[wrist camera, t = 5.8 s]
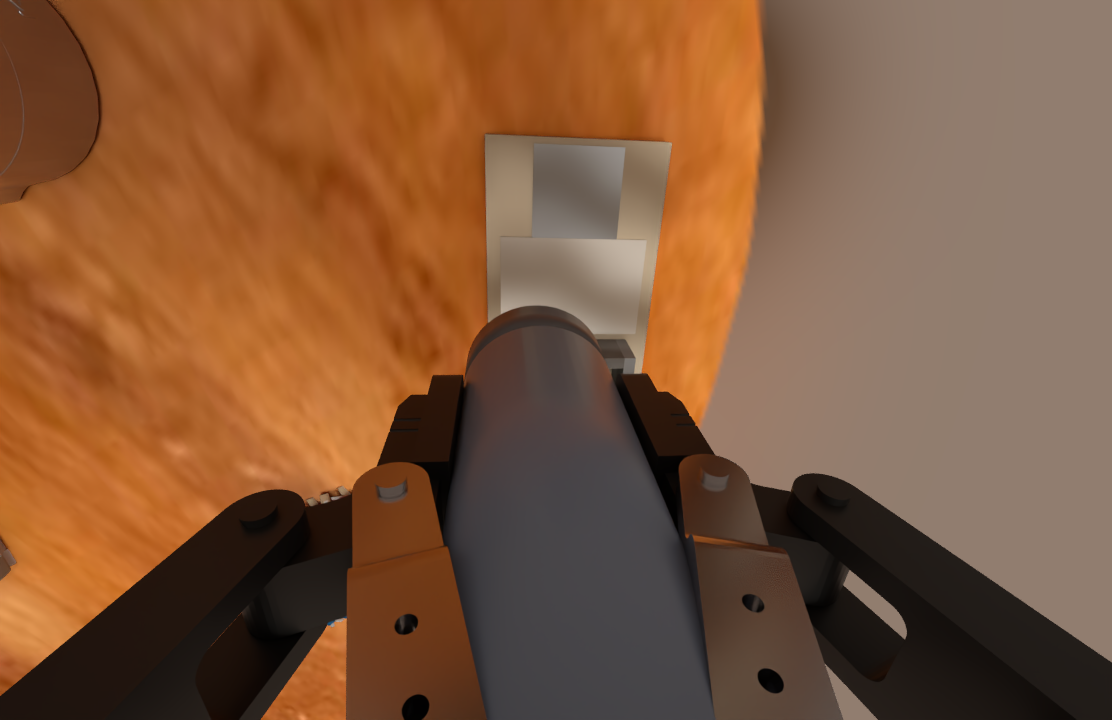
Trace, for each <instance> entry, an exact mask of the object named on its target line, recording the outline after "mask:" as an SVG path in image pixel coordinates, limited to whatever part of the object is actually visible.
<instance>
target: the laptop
mask: <svg viewBox="0 0 1112 720" xmlns="http://www.w3.org/2000/svg"><path fill="white" fill-rule="evenodd" d="M15 563H16V560H15V559H14V557H13V556H12V554H11V553H10V551H9V550H8V549H6V547H5V546H4V544H3V543H2V541H1V540H0V580H1V579H3V578H4V577H5V576H6V575H7V574H8V573H9V572H10V570H11V568H10V566H12V565H14V564H15Z"/></svg>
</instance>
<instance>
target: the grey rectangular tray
mask: <svg viewBox="0 0 1112 720" xmlns="http://www.w3.org/2000/svg"><path fill="white" fill-rule="evenodd" d="M671 147H672V143H671V142H662V141H640V140H618V139H596V138H573V137H551V136H529V135H507V134H485V178H486V236H487V295H488V323H489V322H490V321H491V320H493V319H494V318H495V317H497V316H499V315H501V314H502V313H505V312H507V311H509V310H512V309H515V308H519V307H524V306H533V305H541V306H549V307H554V308H558V309H561V310H564V311H566V312H568V313H570V314H572V315H574V316H575V317H577V318H578V319H580V320H581V321H582V322H583V323H584V324H585V325H586V326H587V327H588V328H589V329H590V331H591V332H592V333H593V335H594V336H595V338H596V340H597V342H598V345H599V347H600V349H601V352H602V354H603V357H604V359H605V361H606V364H607V366H608V368H609V371H610V373H611V375H612V378H613V380H614V383H615V384H616V378H617V375H618V374H641V372H642V364H643V357H644V349H645V342H646V334H647V327H648V319H649V312H650V304H651V297H652V289H653V282H654V274H655V267H656V259H657V252H658V244H659V237H660V229H661V222H662V214H663V207H664V200H665V192H666V185H667V177H668V170H669V162H670V155H671Z"/></svg>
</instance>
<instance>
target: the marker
mask: <svg viewBox="0 0 1112 720" xmlns="http://www.w3.org/2000/svg"><path fill="white" fill-rule="evenodd" d="M442 539H443V544H444V545H447V546H448V550H449V553H450V558H451V562H452V566H453V571H454V575H455V580H456V584H457V589H458V593H459V598H460V602H461V606H462V611H463V615H464V620H465V624H466V629H467V633H468V638H469V642H470V646H471V651H472V655H473V660H474V664H475V669H476V673H477V677H478V682H479V686H480V691H481V695H482V700H483V704H484V709H485V713H486V717H487V720H716V718H715V715H714V708H713V702H712V696H711V690H710V684H709V677H708V671H707V665H706V659H705V653H704V647H703V641H702V635H701V629H700V624H699V618H698V613H697V607H696V602H695V596H694V591H693V586H692V581H691V577H690V572H689V567H688V563H687V558H686V555H685V551H684V548H683V544H682V541H681V539H680V536H679V534H678V532H677V529H676V527H675V525H674V522H673V520H672V517H671V515H670V513H669V510H668V508H667V506H666V503H665V501H664V498H663V496H662V494H661V491H660V489H659V487H658V484H657V482H656V480H655V477H654V475H653V472H652V470H651V468H650V465H649V463H648V461H647V458H646V456H645V454H644V451H643V449H642V446H641V444H640V442H639V439H638V437H637V435H636V432H635V430H634V427H633V425H632V423H631V420H630V418H629V416H628V413H627V411H626V409H625V406H624V404H623V401H622V399H621V397H620V394H619V392H618V390H617V387H616V385H615V383H614V380H613V378H612V375H611V373H610V371H609V368H608V366H607V364H606V361H605V359H604V357H603V354H602V352H601V349H600V347H599V345H598V342H597V340H596V338H595V336H594V335H593V333H592V332H591V331H590V329H589V328H588V327H587V326H586V325H585V324H584V323H583V322H582V321H581V320H580V319H578V318H577V317H575V316H574V315H572V314H570V313H568V312H566V311H564V310H561V309H558V308H554V307H549V306H541V305H533V306H524V307H519V308H515V309H512V310H509V311H507V312H505V313H502V314H501V315H499V316H497V317H495V318H494V319H493V320H491V321H490V322H489V323H488V324H486V326H485V327H484V328H483V329H482V330H481V331H480V332H479V334H478V335H477V336H476V338H475V340H474V341H473V343H472V345H471V348H470V351H469V354H468V359H467V366H466V373H465V380H464V391H463V398H462V405H461V412H460V420H459V427H458V434H457V441H456V448H455V455H454V462H453V470H452V477H451V484H450V489H449V494H448V500H447V507H446V514H445V521H444V528H443V535H442Z"/></svg>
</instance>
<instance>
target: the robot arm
mask: <svg viewBox="0 0 1112 720" xmlns="http://www.w3.org/2000/svg"><path fill="white" fill-rule="evenodd" d="M98 120H99V114H98V95H97V92H96V88H95V84H94V80H93V76H92V72H91V69H90V67H89V65H88V63H87V61H86V58H85V56H84V54H83V52H82V50H81V47H80V45H79V43H78V42H77V40H76V39H75V37H74V36H73V34H72V33H71V31H70V30H69V28H68V27H67V25H66V24H65V22H64V21H63V19H62V18H61V17H60V15H59V14H58V13H57V12H56V11H55V10H54V9H53V8H52V6H51V5H50V4H49V3H48V2H47V1H46V0H0V204H6V203H12V202H17V201H19V200H20V198H21V196H22V194H23V191H24V190H25V189H26V188H27V187H28V186H30V185H33V184H36V183H40V182H45V181H49V180H54V179H57V178H59V177H60V176H62V175H64V174H66V173H68V172H70V171H72V170H73V169H74V168H75V167H76V166H77V165H78V164H79V163H80V162H81V161H82V160H83V159H84V158H85V157H86V155H87V154H88V152H89V150H90V148H91V146H92V144H93V142H94V140H95V136H96V131H97V125H98ZM615 385H616V387H617V390H618V392H619V394H620V397H621V399H622V401H623V404H624V406H625V409H626V411H627V413H628V416H629V418H630V420H631V423H632V425H633V427H634V430H635V432H636V435H637V437H638V439H639V442H640V444H641V446H642V449H643V451H644V454H645V456H646V458H647V461H648V463H649V465H650V468H651V470H652V472H653V475H654V477H655V480H656V482H657V484H658V487H659V489H660V491H661V494H662V496H663V498H664V501H665V503H666V506H667V508H668V510H669V513H670V515H671V517H672V520H673V522H674V525H675V527H676V529H677V532H678V534H679V536H680V539H681V541H682V544H683V548H684V551H685V555H686V558H687V563H688V567H689V572H690V577H691V581H692V586H693V591H694V596H695V602H696V607H697V613H698V618H699V624H700V629H701V635H702V641H703V647H704V653H705V659H706V665H707V671H708V677H709V684H710V690H711V696H712V702H713V708H714V715H715V718H716V720H843V717H842V714H841V711H840V708H839V705H838V703H837V699H836V696H835V693H834V690H833V687H832V684H831V681H830V678H829V675H828V672H827V670H826V666H825V664H826V665H827V666H828V667H829V668H830V669H831V670H832V671H833V672H834V673H835V674H836V675H837V677H838V678H839V679H840V680H841V681H842V682H843V683H844V684H845V685H846V686H847V687H848V688H849V689H850V690H851V691H852V692H853V694H855V696H856V697H857V698H858V699H859V700H860V701H861V702H862V703H863V704H864V705H865V706H866V707H867V708H868V709H869V710H870V712H871V713H872V714H873V715H874V716H875V717H876V718H877V719H878V720H1112V662H1110V661H1108V660H1107V659H1106V658H1104V657H1103V656H1101V655H1100V654H1098V653H1097V652H1095V651H1094V650H1093V649H1091V648H1090V647H1088V646H1087V645H1085V644H1084V643H1082V642H1081V641H1079V640H1078V639H1076V638H1075V637H1073V636H1072V635H1071V634H1069V633H1068V632H1066V631H1065V630H1063V629H1062V628H1060V627H1059V626H1058V625H1056V624H1054V623H1053V622H1052V621H1050V620H1049V619H1047V618H1046V617H1044V616H1043V615H1041V614H1040V613H1039V612H1037V611H1035V610H1034V609H1033V608H1031V607H1030V606H1028V605H1027V604H1025V603H1024V602H1022V601H1021V600H1019V599H1018V598H1016V597H1015V596H1014V595H1012V594H1011V593H1009V592H1008V591H1006V590H1005V589H1003V588H1002V587H1000V586H999V585H998V584H996V583H995V582H993V581H992V580H990V579H989V578H987V577H986V576H984V575H983V574H982V573H980V572H979V571H977V570H976V569H974V568H973V567H971V566H970V565H968V564H967V563H966V562H964V561H963V560H961V559H960V558H958V557H957V556H955V555H954V554H952V553H951V552H949V551H948V550H946V549H945V548H943V547H942V546H941V545H939V544H938V543H936V542H935V541H933V540H932V539H930V538H929V537H928V536H926V535H925V534H923V533H922V532H920V531H918V530H917V529H916V528H914V527H913V526H911V525H910V524H909V523H907V522H906V521H904V520H903V519H901V518H900V517H898V516H897V515H895V514H894V513H893V512H891V511H890V510H888V509H887V508H885V507H884V506H882V505H881V504H879V503H878V502H876V501H875V500H873V499H872V498H871V497H869V496H868V495H866V494H865V493H863V492H862V491H860V490H859V489H857V488H856V487H854V486H853V485H851V484H849V483H847V482H845V481H843V480H841V479H838V478H835V477H832V476H829V475H824V474H814V473H812V474H804V475H801V476H799V477H798V478H796V480H795V481H794V483H793V486H792V489H791V492H790V491H785V490H779V489H774V488H768V487H763V486H758V485H755V484H752V483H750V480H749V477H748V475H747V474H746V472H745V471H744V470H743V469H742V468H741V467H740V466H738V465H737V464H736V463H734V462H732V461H730V460H728V459H726V458H723V457H720V456H716V455H715V454H714V452H713V451H712V449H711V448H710V446H709V445H708V443H707V441H706V440H705V438H704V437H703V435H702V433H701V432H700V430H699V429H698V427H697V426H695V422H694V421H693V419H692V417H691V416H689V413H688V411H687V410H686V408H685V406H684V405H683V403H682V402H681V401H680V400H678V399H677V398H676V397H674V396H673V395H671V394H670V393H669V392H658V391H657V390H656V388H655V386H654V384H653V383H652V381H651V379H650V377H649V376H648V374H646V373H641V374H618V375H617V378H616V384H615ZM463 391H464V380H463V375H433V377H432V380H431V384H430V388H429V391H428V395H410V396H409V397H408V398H407V399H406V400H405V401H404V402H402V403H401V404H400V405H399V406H398V409H397V411H396V414H395V417H394V421H393V423H392V425H391V428H390V432H389V434H388V437H387V439H386V442H385V445H384V448H383V450H382V453H381V456H380V459H379V462H378V464H377V467H375V468H373V469H370V470H369V471H367V472H366V473H364V474H363V475H362V476H361V477H360V478H359V479H358V480H357V481H356V483H355V484H354V486H353V490H352V494H350V495H348V496H346V497H343V498H341V499H337V500H334V501H330V502H326V503H322V504H318V505H314V506H310V507H306V508H305V504H304V501H303V499H302V497H301V496H299V495H298V494H297V493H295V492H292V491H289V490H267V491H262V492H258V493H254V494H252V495H249V496H246V497H244V498H242V499H240V500H238V501H236V502H235V503H233V504H231V505H230V506H229V507H227V508H226V509H225V510H224V511H222V512H221V513H220V514H219V515H218V516H216V517H215V518H214V519H213V520H212V521H210V522H209V523H208V524H207V525H206V526H204V527H203V528H202V529H201V530H200V531H198V532H197V533H196V534H195V535H194V536H192V537H191V538H190V539H189V540H188V541H186V542H185V543H184V544H183V545H182V546H180V547H179V548H178V549H177V550H176V551H174V552H173V553H172V554H171V555H170V556H168V557H167V558H166V559H165V560H163V561H162V562H161V563H160V564H159V565H157V566H156V567H155V568H154V569H153V570H151V571H150V572H149V573H148V574H147V575H145V576H144V577H143V578H142V579H141V580H139V581H138V582H137V583H136V584H135V585H133V586H132V587H131V588H130V589H129V590H127V591H126V592H125V593H124V594H123V595H121V596H120V597H119V598H118V599H117V600H115V601H114V602H113V603H112V604H111V605H109V606H108V607H107V608H106V609H105V610H103V611H102V612H101V613H100V614H99V615H97V616H96V617H95V618H94V619H93V620H91V621H90V622H89V623H88V624H87V625H85V626H84V627H83V628H82V629H81V630H79V631H78V632H77V633H76V634H75V635H73V636H72V637H71V638H70V639H69V640H67V641H66V642H65V643H64V644H62V645H61V646H60V647H59V648H58V649H56V650H55V651H54V652H53V653H52V654H50V655H49V656H48V657H47V658H46V659H44V660H43V661H42V662H41V663H40V664H38V665H37V666H36V667H35V668H34V669H32V670H31V671H30V672H29V673H28V674H26V675H25V676H24V677H23V678H22V679H20V680H19V681H18V682H17V683H16V684H14V685H13V686H12V687H11V688H10V689H8V690H7V691H6V692H5V693H4V694H2V695H1V696H0V720H261V718H262V717H263V715H264V714H265V713H266V711H267V710H268V708H269V707H270V706H271V704H272V703H273V701H274V700H275V699H276V697H277V696H278V694H279V693H280V692H281V690H282V689H283V687H284V686H285V685H286V683H287V682H288V680H289V679H290V678H291V676H292V675H293V674H294V672H295V671H296V669H297V668H298V667H299V665H300V664H301V662H302V661H303V660H304V658H305V657H306V655H307V654H308V653H309V651H310V650H311V648H312V647H313V646H314V644H315V643H316V641H317V640H318V639H319V637H320V636H321V634H322V633H323V631H324V630H325V628H326V626H327V624H328V623H329V622H332V621H335V620H338V619H341V618H343V617H346V616H347V658H346V720H487V717H486V713H485V709H484V704H483V700H482V695H481V691H480V686H479V682H478V677H477V673H476V669H475V664H474V660H473V655H472V651H471V646H470V642H469V638H468V633H467V629H466V624H465V620H464V615H463V611H462V606H461V602H460V598H459V593H458V589H457V584H456V580H455V575H454V571H453V566H452V562H451V558H450V553H449V550H448V546H447V545H444V544H443V539H442V535H443V528H444V521H445V514H446V507H447V500H448V494H449V489H450V484H451V477H452V470H453V462H454V455H455V448H456V441H457V434H458V427H459V420H460V412H461V405H462V398H463ZM849 569H850V570H851V571H852V572H853V573H854V574H856V575H857V576H858V577H859V578H860V579H862V580H863V581H864V582H865V583H866V584H868V585H869V586H870V587H871V588H872V589H874V590H875V591H876V592H877V593H878V594H879V595H881V596H882V597H883V598H884V599H885V600H886V601H888V602H889V603H890V604H891V605H892V606H893V607H894V608H895V609H896V610H897V611H898V612H899V614H900V615H901V616H902V618H903V620H904V622H905V624H906V628H907V636H906V639H903V638H902V637H901V636H900V635H899V634H898V633H897V632H895V631H894V630H893V629H892V628H891V627H890V626H889V625H888V624H886V623H885V622H884V621H883V620H882V619H881V618H880V617H879V616H877V615H876V614H875V613H874V612H873V611H872V610H871V609H869V608H868V607H867V606H866V605H865V604H864V603H863V602H861V601H860V600H859V599H858V598H857V597H856V596H855V595H854V594H852V593H851V592H850V591H849V590H848V589H847V588H846V587H844V586H843V583H844V581H845V579H846V576H847V574H848V572H849ZM241 612H242V613H241ZM240 613H241V614H240ZM233 621H234V622H233ZM232 622H233V623H232ZM231 623H232V624H231ZM230 624H231V625H230ZM229 625H230V626H229ZM223 632H224V633H223ZM222 633H223V634H222ZM221 634H222V635H221ZM220 635H221V636H220ZM219 636H220V637H219ZM218 637H219V638H218ZM212 644H213V645H212ZM211 645H212V646H211ZM210 646H211V647H210Z"/></svg>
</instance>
